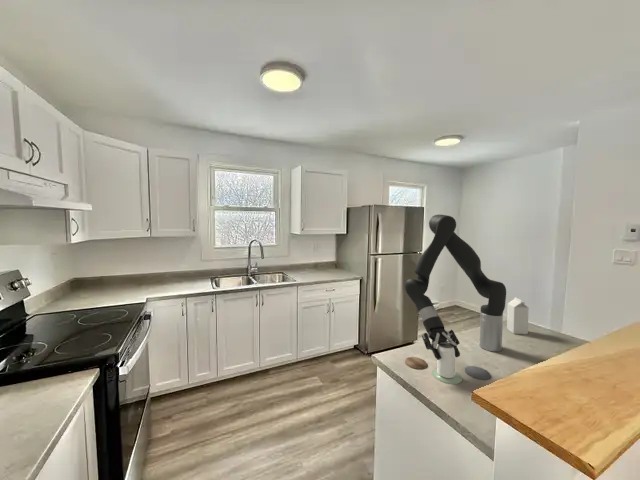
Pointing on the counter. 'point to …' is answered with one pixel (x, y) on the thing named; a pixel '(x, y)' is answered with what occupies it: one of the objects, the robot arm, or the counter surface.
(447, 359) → the can
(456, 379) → the sage coaster
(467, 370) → the charcoal coaster
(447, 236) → the robot arm
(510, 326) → the milk carton
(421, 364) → the walnut coaster
